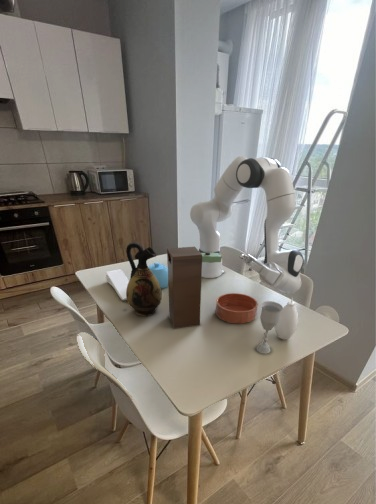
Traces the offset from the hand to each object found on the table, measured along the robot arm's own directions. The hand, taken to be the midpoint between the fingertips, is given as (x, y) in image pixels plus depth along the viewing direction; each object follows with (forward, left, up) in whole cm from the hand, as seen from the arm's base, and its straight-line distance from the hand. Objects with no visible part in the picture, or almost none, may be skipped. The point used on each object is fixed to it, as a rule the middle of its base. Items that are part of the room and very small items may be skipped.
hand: (245, 259), depth 114 cm
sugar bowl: (-40, -30, -25) cm, 56 cm away
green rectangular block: (0, -18, +1) cm, 18 cm away
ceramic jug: (-13, -41, -25) cm, 49 cm away
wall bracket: (-37, -49, -25) cm, 66 cm away
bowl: (0, -2, -25) cm, 25 cm away
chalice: (+27, -2, -25) cm, 37 cm away
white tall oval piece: (+22, +9, -25) cm, 35 cm away
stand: (0, -25, -25) cm, 35 cm away
